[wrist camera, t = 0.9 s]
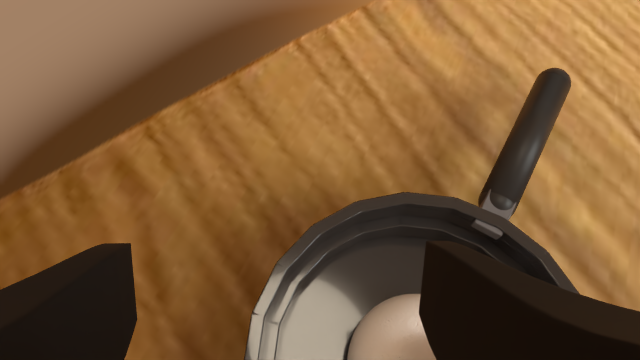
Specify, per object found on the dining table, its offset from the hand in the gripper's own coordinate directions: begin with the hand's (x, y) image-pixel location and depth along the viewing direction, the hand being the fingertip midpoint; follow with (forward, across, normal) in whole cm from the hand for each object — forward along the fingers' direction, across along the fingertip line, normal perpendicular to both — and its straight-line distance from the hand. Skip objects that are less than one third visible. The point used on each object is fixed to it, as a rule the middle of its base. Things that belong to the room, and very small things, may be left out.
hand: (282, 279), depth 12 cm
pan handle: (+13, -13, 0) cm, 18 cm away
